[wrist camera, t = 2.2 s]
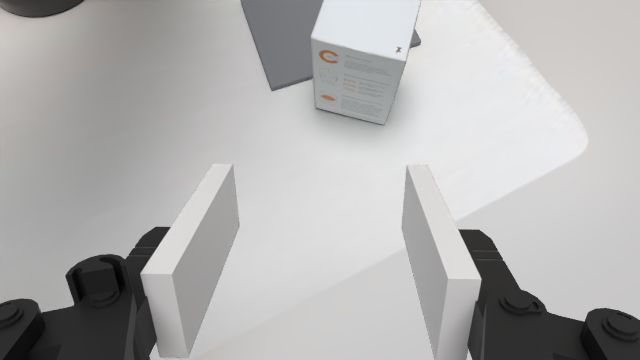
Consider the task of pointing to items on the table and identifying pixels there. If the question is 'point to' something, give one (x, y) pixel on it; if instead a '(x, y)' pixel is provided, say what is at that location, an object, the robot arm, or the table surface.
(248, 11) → the grey rubber mat
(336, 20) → the small box
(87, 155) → the table surface
